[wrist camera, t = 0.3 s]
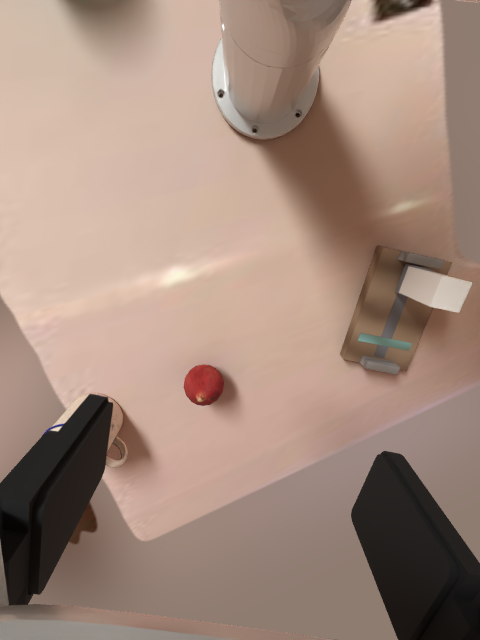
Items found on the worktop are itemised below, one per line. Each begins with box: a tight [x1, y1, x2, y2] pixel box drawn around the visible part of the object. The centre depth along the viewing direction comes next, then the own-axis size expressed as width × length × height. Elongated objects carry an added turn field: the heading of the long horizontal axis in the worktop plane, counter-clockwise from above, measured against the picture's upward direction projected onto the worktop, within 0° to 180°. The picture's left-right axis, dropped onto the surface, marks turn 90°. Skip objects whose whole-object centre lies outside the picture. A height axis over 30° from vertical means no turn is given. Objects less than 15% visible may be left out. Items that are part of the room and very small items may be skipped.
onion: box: [184, 365, 224, 406], centre depth 46 cm, size 6×6×8 cm
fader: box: [395, 264, 473, 313], centre depth 39 cm, size 4×4×9 cm
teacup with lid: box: [42, 393, 128, 468], centre depth 46 cm, size 12×9×12 cm
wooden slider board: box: [340, 246, 452, 375], centre depth 45 cm, size 17×10×4 cm, turn 168°
